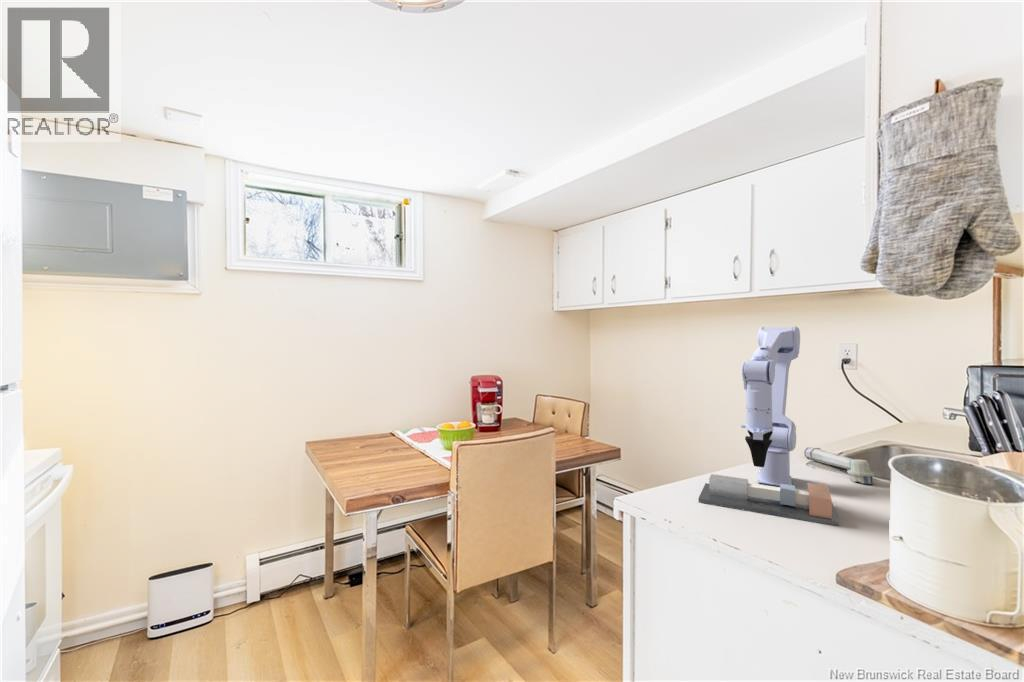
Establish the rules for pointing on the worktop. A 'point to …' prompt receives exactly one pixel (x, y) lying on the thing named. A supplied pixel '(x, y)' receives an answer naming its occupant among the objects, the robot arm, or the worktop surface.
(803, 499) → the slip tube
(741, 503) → the sleeve base
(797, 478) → the worktop surface
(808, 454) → the handheld shower head
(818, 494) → the socket block
